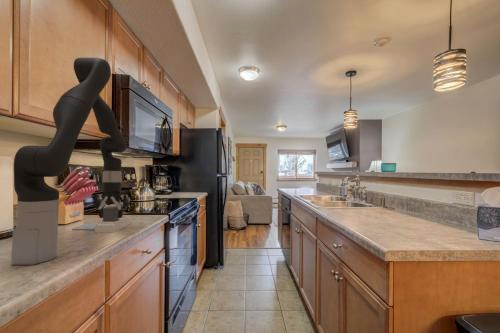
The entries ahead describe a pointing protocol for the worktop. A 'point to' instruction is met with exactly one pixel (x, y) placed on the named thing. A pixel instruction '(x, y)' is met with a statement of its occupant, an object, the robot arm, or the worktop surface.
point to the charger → (110, 214)
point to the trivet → (85, 227)
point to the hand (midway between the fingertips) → (110, 217)
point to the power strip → (113, 225)
